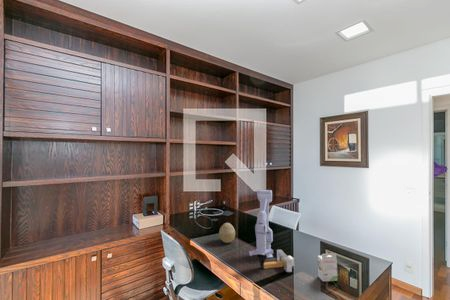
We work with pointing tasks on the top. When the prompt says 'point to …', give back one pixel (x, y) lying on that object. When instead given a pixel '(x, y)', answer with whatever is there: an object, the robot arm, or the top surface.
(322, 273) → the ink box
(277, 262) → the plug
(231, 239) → the fossilized egg
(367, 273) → the top surface
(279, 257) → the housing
